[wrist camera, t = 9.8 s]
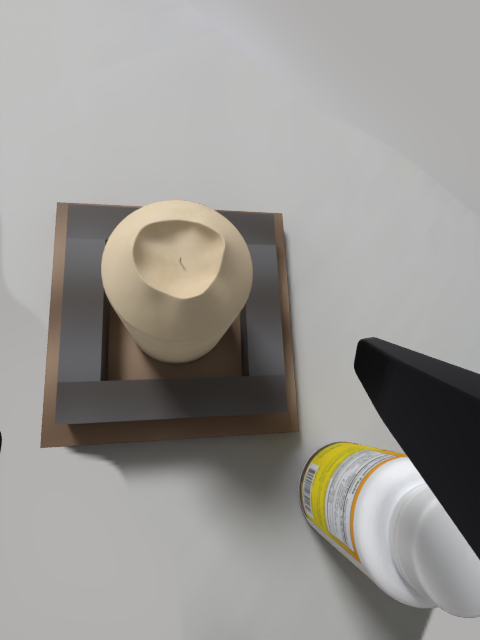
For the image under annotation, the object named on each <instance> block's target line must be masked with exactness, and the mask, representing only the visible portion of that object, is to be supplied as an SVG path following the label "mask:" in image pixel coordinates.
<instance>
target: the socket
mask: <svg viewBox="0 0 480 640" xmlns="http://www.w3.org/2000/svg"><path fill="white" fill-rule="evenodd" d="M140 208H142V207H141V206H121V205H101V204H80V203H60V202H57V213H56V227H55V242H54V257H53V271H52V286H51V301H50V315H49V330H48V344H47V359H46V374H45V388H44V403H43V417H42V433H41V448H46V447H62V446H78V445H94V444H110V443H125V442H141V441H157V440H173V439H188V438H204V437H220V436H236V435H251V434H267V433H283V432H299V430H298V417H297V404H296V391H295V377H294V364H293V351H292V337H291V324H290V311H289V297H288V284H287V271H286V258H285V244H284V231H283V218H282V213H263V212H243V211H222V210H215V211H216V212H218V213H219V214H221V215H222V216H224V217H225V218H226V219H227V220H229V221H230V222H231V223H232V224H233V225H234V226H235V227H236V229H237V230H238V231H239V233H240V234H241V235H242V237H243V239H244V241H245V242H246V244H247V247H248V249H249V252H250V255H251V260H252V266H253V281H252V287H251V291H250V294H249V297H248V299H247V301H246V303H245V305H244V307H243V308H242V310H241V312H240V313H239V315H238V316H237V317H236V319H235V320H234V321H233V323H232V324H231V325H230V327H229V328H228V330H227V331H226V332H225V334H224V335H223V336H222V338H221V339H220V340H219V342H218V343H217V344H216V346H215V347H214V348H213V349H212V350H211V351H210V352H209V353H208V354H206V355H205V356H204V357H202V358H200V359H198V360H196V361H194V362H191V363H186V364H178V365H176V364H167V363H163V362H160V361H157V360H155V359H153V358H151V357H150V356H148V355H147V354H146V353H144V352H143V351H142V350H141V349H140V347H139V346H138V345H137V344H136V342H135V341H134V339H133V338H132V336H131V335H130V333H129V332H128V330H127V329H126V327H125V325H124V324H123V322H122V321H121V319H120V318H119V316H118V314H117V313H116V311H115V310H114V308H113V307H112V305H111V303H110V301H109V299H108V297H107V295H106V293H105V290H104V286H103V282H102V276H101V263H102V255H103V252H104V248H105V245H106V243H107V241H108V239H109V237H110V235H111V234H112V232H113V231H114V229H115V228H116V227H117V226H118V224H119V223H120V222H121V221H122V220H124V219H125V218H126V217H127V216H128V215H130V214H131V213H133V212H134V211H136V210H138V209H140Z"/></svg>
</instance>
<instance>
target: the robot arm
mask: <svg viewBox="0 0 480 640" xmlns="http://www.w3.org/2000/svg"><path fill="white" fill-rule="evenodd" d="M354 369H355V372H356V374H357V376H358V378H359V380H360V381H361V383H362V385H363V387H364V389H365V391H366V392H367V394H368V396H369V398H370V400H371V401H372V403H373V405H374V407H375V409H376V410H377V412H378V414H379V416H380V417H381V419H382V420H383V422H384V423H385V425H386V426H387V428H388V429H389V431H390V432H391V434H392V435H393V436H394V438H395V439H396V441H397V442H398V444H399V445H400V446H401V448H402V449H403V451H404V452H405V454H406V455H407V457H408V458H409V459H410V461H411V462H412V464H413V465H414V467H415V468H416V469H417V471H418V472H419V474H420V475H421V477H422V478H423V480H424V481H425V482H426V484H427V485H428V487H429V488H430V490H431V491H432V492H433V494H434V495H435V497H436V498H437V500H438V501H439V503H440V504H441V505H442V507H443V508H444V510H445V511H446V513H447V514H448V515H449V517H450V518H451V520H452V521H453V523H454V524H455V526H456V527H457V528H458V530H459V531H460V533H461V534H462V536H463V537H464V538H465V540H466V541H467V543H468V544H469V546H470V547H471V549H472V550H473V551H474V553H475V554H476V556H477V557H478V559H479V560H480V374H478V373H475V372H472V371H469V370H466V369H464V368H461V367H458V366H455V365H452V364H449V363H446V362H444V361H441V360H438V359H435V358H432V357H429V356H427V355H424V354H421V353H418V352H415V351H412V350H410V349H407V348H404V347H401V346H398V345H395V344H392V343H390V342H387V341H384V340H381V339H378V338H375V337H371V338H365V339H361V340H360V341H359V342H358V345H357V350H356V355H355V361H354ZM1 444H2V436H1V432H0V450H1Z"/></svg>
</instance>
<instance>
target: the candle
mask: <svg viewBox="0 0 480 640" xmlns="http://www.w3.org/2000/svg"><path fill="white" fill-rule="evenodd" d="M101 276H102V282H103V286H104V290H105V293H106V295H107V297H108V299H109V301H110V303H111V305H112V307H113V308H114V310H115V311H116V313H117V314H118V316H119V318H120V319H121V321H122V322H123V324H124V325H125V327H126V329H127V330H128V332H129V333H130V335H131V336H132V338H133V339H134V341H135V342H136V344H137V345H138V346H139V347H140V349H141V350H142V351H143V352H144V353H146V354H147V355H148V356H150V357H151V358H153V359H155V360H157V361H160V362H163V363H167V364H176V365H178V364H186V363H191V362H194V361H196V360H198V359H200V358H202V357H204V356H205V355H206V354H208V353H209V352H210V351H211V350H212V349H213V348H214V347H215V346H216V344H217V343H218V342H219V340H220V339H221V338H222V336H223V335H224V334H225V332H226V331H227V330H228V328H229V327H230V325H231V324H232V323H233V321H234V320H235V319H236V317H237V316H238V315H239V313H240V312H241V310H242V308H243V307H244V305H245V303H246V301H247V299H248V297H249V294H250V291H251V287H252V281H253V266H252V260H251V255H250V252H249V249H248V247H247V244H246V242H245V241H244V239H243V237H242V235H241V234H240V233H239V231H238V230H237V229H236V227H235V226H234V225H233V224H232V223H231V222H230V221H229V220H227V219H226V218H225V217H224V216H222V215H221V214H219V213H218V212H216V211H215V210H213V209H211V208H209V207H206V206H204V205H201V204H198V203H194V202H190V201H182V200H168V201H160V202H156V203H152V204H149V205H146V206H144V207H142V208H140V209H138V210H136V211H134V212H133V213H131V214H130V215H128V216H127V217H126V218H125V219H124V220H122V221H121V222H120V223H119V224H118V226H117V227H116V228H115V229H114V231H113V232H112V234H111V235H110V237H109V239H108V241H107V243H106V245H105V248H104V252H103V255H102V263H101Z"/></svg>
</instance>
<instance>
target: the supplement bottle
mask: <svg viewBox="0 0 480 640" xmlns="http://www.w3.org/2000/svg"><path fill="white" fill-rule="evenodd" d="M298 494H299V501H300V505H301V508H302V511H303V513H304V515H305V517H306V519H307V521H308V522H309V523H310V525H311V526H312V527H313V528H314V529H315V530H316V531H317V532H318V533H319V534H320V535H321V536H322V537H323V538H325V539H326V540H327V541H328V542H329V543H330V544H331V545H332V546H333V547H335V548H336V549H337V550H338V551H339V552H340V553H341V554H342V555H344V556H345V557H346V558H347V559H348V560H349V561H350V562H351V563H352V564H354V565H355V566H356V567H357V568H358V569H359V570H360V571H361V572H362V573H364V574H365V575H366V576H367V577H368V578H369V579H370V580H371V581H372V582H373V583H374V584H376V585H377V586H378V587H379V588H380V589H381V590H382V591H384V592H385V593H386V594H388V595H389V596H390V597H392V598H394V599H395V600H397V601H399V602H401V603H403V604H406V605H408V606H412V607H416V608H435V607H440V608H441V609H442V610H444V611H446V612H448V613H450V614H452V615H455V616H458V617H463V618H476V617H480V560H479V559H478V557H477V556H476V554H475V553H474V551H473V550H472V549H471V547H470V546H469V544H468V543H467V541H466V540H465V538H464V537H463V536H462V534H461V533H460V531H459V530H458V528H457V527H456V526H455V524H454V523H453V521H452V520H451V518H450V517H449V515H448V514H447V513H446V511H445V510H444V508H443V507H442V505H441V504H440V503H439V501H438V500H437V498H436V497H435V495H434V494H433V492H432V491H431V490H430V488H429V487H428V485H427V484H426V482H425V481H424V480H423V478H422V477H421V475H420V474H419V472H418V471H417V469H416V468H415V467H414V465H413V464H412V462H411V461H410V459H409V458H408V457H407V455H405V454H400V453H397V452H393V451H387V450H382V449H378V448H373V447H368V446H364V445H359V444H355V443H349V442H334V443H329V444H326V445H324V446H322V447H320V448H319V449H317V450H316V451H315V452H314V453H313V454H312V455H311V456H310V457H309V458H308V459H307V461H306V463H305V464H304V466H303V468H302V471H301V474H300V478H299V484H298Z"/></svg>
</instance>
